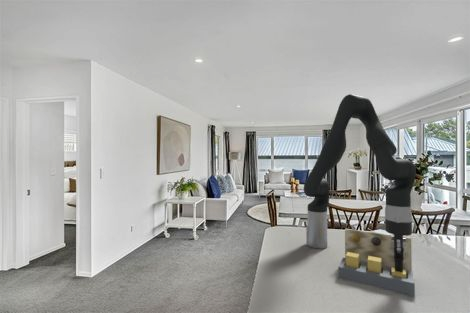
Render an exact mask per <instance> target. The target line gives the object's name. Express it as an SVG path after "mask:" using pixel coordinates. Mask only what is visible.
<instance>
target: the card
mask: <svg viewBox="0 0 470 313" xmlns="http://www.w3.org/2000/svg"><path fill="white" fill-rule="evenodd" d="M392 237H394V235H388V234H381V233H373V232H370V231H366V230H365V231H364V230H358V229H350V228H345V229H344V258H346V254H347V252H351V253H356V254H359V261H364V262H368V256H372V257H378V258H381V263H382V265H384V266H389V267H394V268H395V259H394V253H393V250H392V242H391V239H392ZM403 238H405V241H406V246H405V254H404V255H403V258H404V260H403V269H404V270H409V271H413V270H412V269H413V267H412V266H413V265H412V262H413V261H412V260H413V259H412V252H413V251H412V237H408V236H403Z"/></svg>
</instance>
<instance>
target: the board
mask: <svg viewBox="0 0 470 313" xmlns="http://www.w3.org/2000/svg"><path fill="white" fill-rule="evenodd" d="M337 268H338V270H337V271H338V273H337V274H338V276H337V277H338V278H337V279H341V280H345V281H349V282H353V283H358V284H362V285H366V286H369V287H375V288H378V289H382V290H386V291H391V292H394V293H399V294H403V295H407V296H411V297H416V294H415V292H416V290H415V289H416V288H415V287H416V286H415V285H416V284H415V278H414V272H413V270H412V271H409V270H406V278H401V277H397V276H392V267H389V266H384V265H382V273H378V272H373V271H369V270H368V262H364V261H359V268H355V267H350V266H346V258H345V257H342V259H341V261H340V262H339V265H338V267H337Z"/></svg>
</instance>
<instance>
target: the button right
mask: <svg viewBox="0 0 470 313" xmlns="http://www.w3.org/2000/svg"><path fill="white" fill-rule="evenodd" d="M392 276H397V277H401V278H406V270H404V269H403V272H399V271H396V270H395V268H394V267H392Z"/></svg>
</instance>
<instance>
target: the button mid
mask: <svg viewBox="0 0 470 313" xmlns="http://www.w3.org/2000/svg"><path fill="white" fill-rule="evenodd" d="M368 270H369V271H373V272H378V273H382V263H381V258H378V257H372V256H368Z"/></svg>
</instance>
